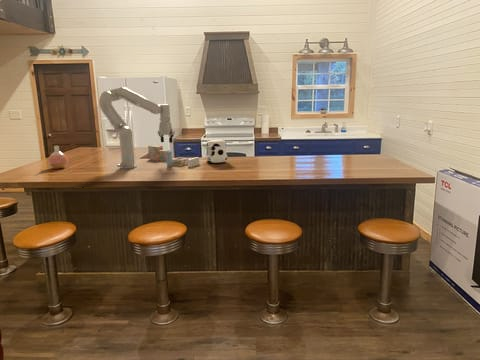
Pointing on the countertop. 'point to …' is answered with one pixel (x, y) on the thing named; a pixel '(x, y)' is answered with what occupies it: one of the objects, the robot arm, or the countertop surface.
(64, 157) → the vase
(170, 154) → the dowel
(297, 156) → the countertop surface
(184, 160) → the block
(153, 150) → the stack of blocks
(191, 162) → the wall
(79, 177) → the countertop surface
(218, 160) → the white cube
